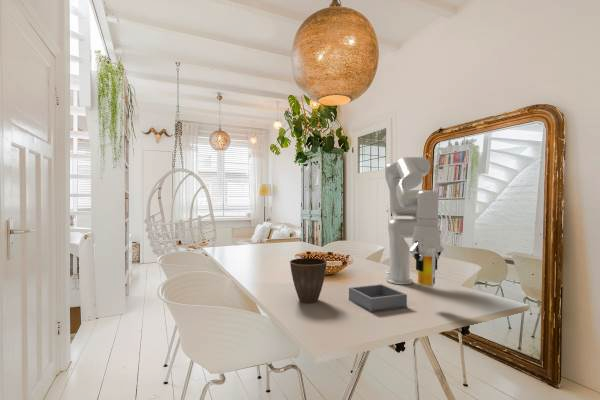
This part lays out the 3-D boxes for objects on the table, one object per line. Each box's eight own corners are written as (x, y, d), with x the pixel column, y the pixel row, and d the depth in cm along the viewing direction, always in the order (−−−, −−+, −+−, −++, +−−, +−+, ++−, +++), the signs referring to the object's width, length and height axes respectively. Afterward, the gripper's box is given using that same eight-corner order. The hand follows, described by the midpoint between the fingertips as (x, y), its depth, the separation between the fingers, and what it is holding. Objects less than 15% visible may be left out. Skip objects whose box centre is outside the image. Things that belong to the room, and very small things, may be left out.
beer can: (421, 282, 126) (421, 244, 126) (437, 285, 123) (437, 246, 122) (415, 285, 122) (416, 246, 121) (432, 288, 118) (432, 248, 117)
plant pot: (304, 309, 119) (304, 266, 119) (282, 299, 131) (282, 260, 131) (334, 302, 128) (334, 262, 128) (311, 293, 140) (311, 256, 140)
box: (348, 299, 131) (348, 287, 131) (381, 295, 136) (381, 284, 136) (371, 312, 116) (371, 298, 116) (406, 307, 122) (406, 294, 122)
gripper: (437, 221, 128) (436, 265, 129) (402, 222, 122) (401, 269, 122) (452, 223, 121) (451, 270, 122) (416, 224, 115) (415, 274, 115)
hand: (426, 269), depth 122 cm, fingers closed on beer can, 6 cm apart
